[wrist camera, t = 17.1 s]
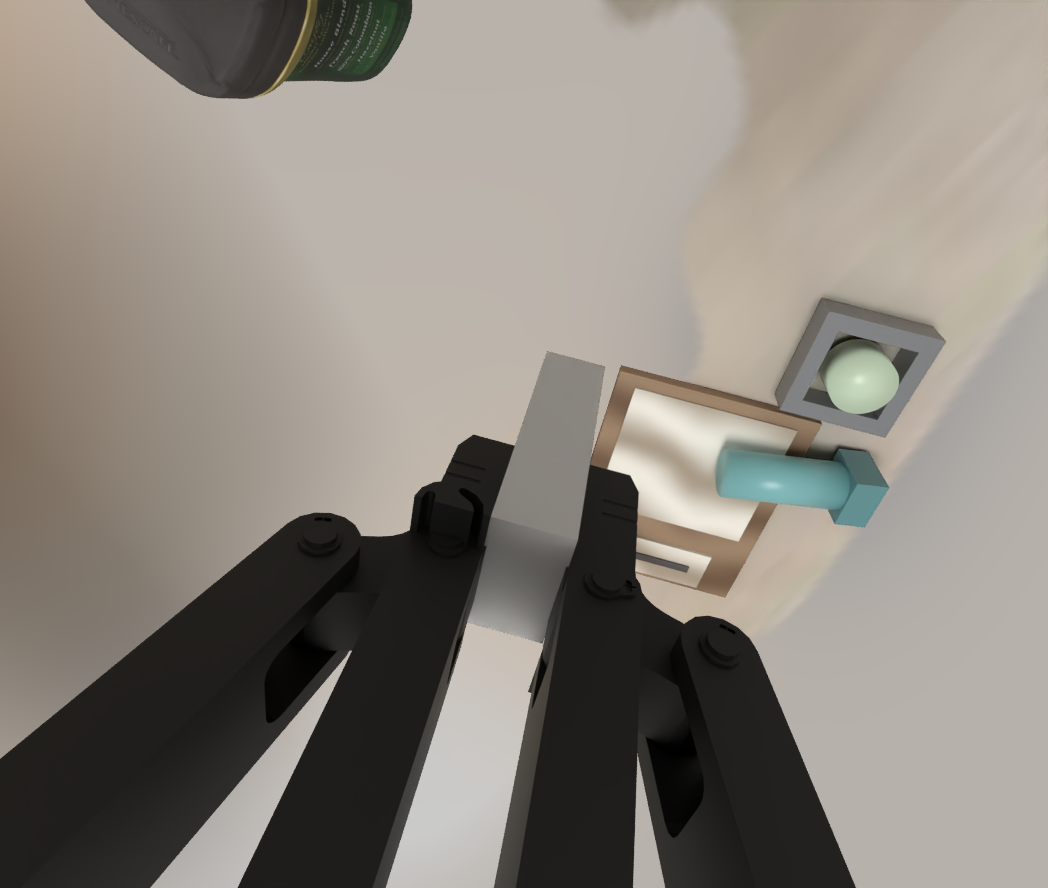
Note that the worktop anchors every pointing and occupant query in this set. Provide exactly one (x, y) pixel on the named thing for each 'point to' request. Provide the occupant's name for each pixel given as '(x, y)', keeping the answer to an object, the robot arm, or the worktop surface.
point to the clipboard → (691, 473)
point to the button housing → (835, 317)
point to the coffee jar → (260, 40)
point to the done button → (859, 376)
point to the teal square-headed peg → (805, 482)
